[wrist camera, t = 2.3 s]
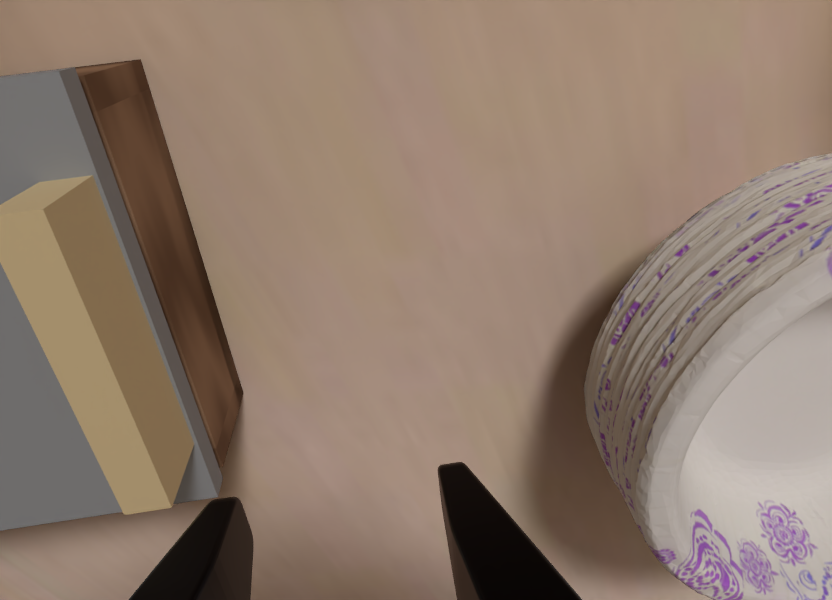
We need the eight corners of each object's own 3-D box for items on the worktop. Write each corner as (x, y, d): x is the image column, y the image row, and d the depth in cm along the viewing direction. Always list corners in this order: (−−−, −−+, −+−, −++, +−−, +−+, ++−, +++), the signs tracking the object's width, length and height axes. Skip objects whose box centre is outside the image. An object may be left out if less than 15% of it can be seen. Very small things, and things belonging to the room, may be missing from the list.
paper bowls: (540, 474, 26) (610, 650, 19) (581, 130, 19) (717, 206, 12) (853, 448, 27) (1027, 603, 20) (1000, 117, 20) (1346, 178, 13)
